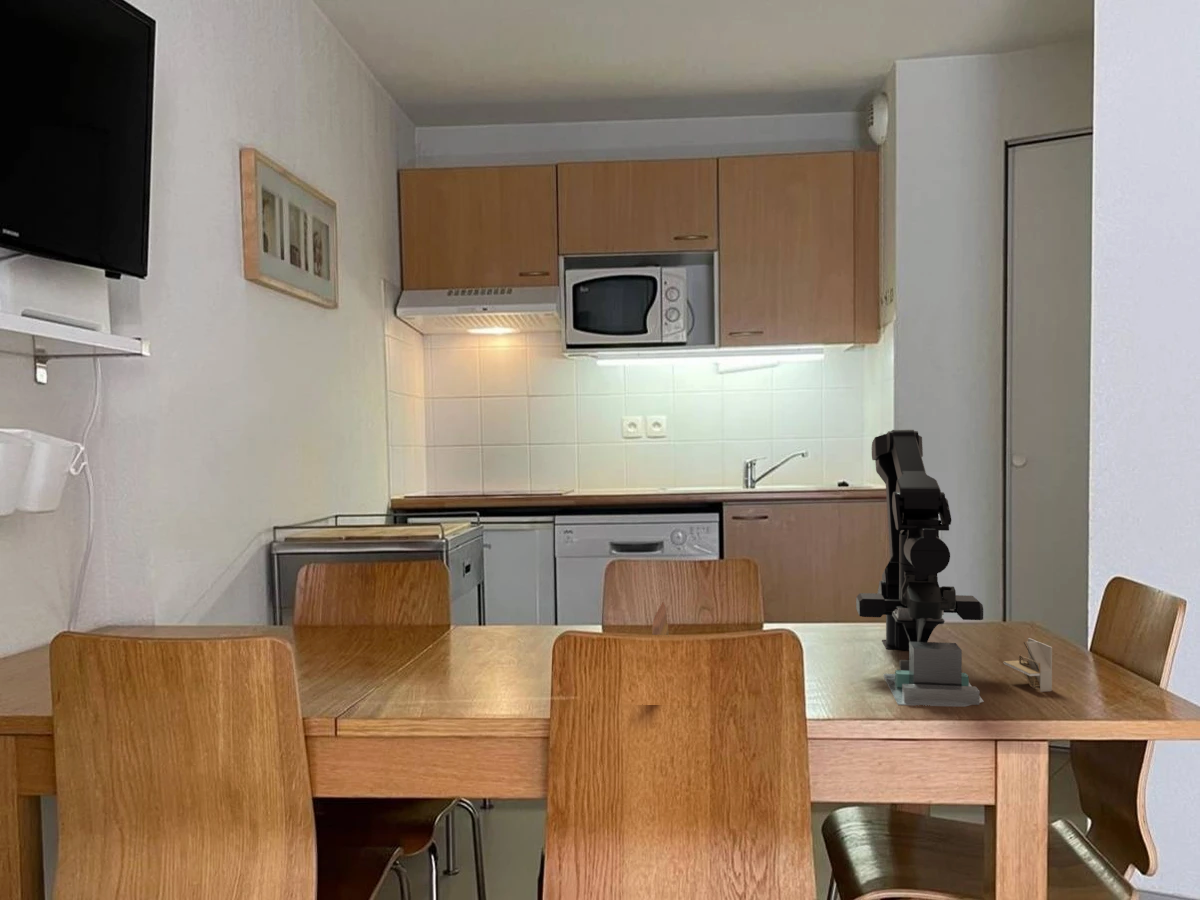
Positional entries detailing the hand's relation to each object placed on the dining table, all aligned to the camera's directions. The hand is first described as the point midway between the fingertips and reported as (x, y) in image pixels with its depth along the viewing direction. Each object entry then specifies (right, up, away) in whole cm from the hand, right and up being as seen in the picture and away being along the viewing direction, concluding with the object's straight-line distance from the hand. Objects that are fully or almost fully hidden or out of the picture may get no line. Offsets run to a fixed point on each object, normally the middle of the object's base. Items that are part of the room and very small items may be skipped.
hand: (917, 659), depth 144 cm
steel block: (-3, -2, -14) cm, 15 cm away
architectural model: (+13, -3, -11) cm, 18 cm away
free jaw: (-2, -1, -9) cm, 9 cm away
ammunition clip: (-42, -3, -7) cm, 43 cm away
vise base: (-2, -2, -13) cm, 13 cm away
